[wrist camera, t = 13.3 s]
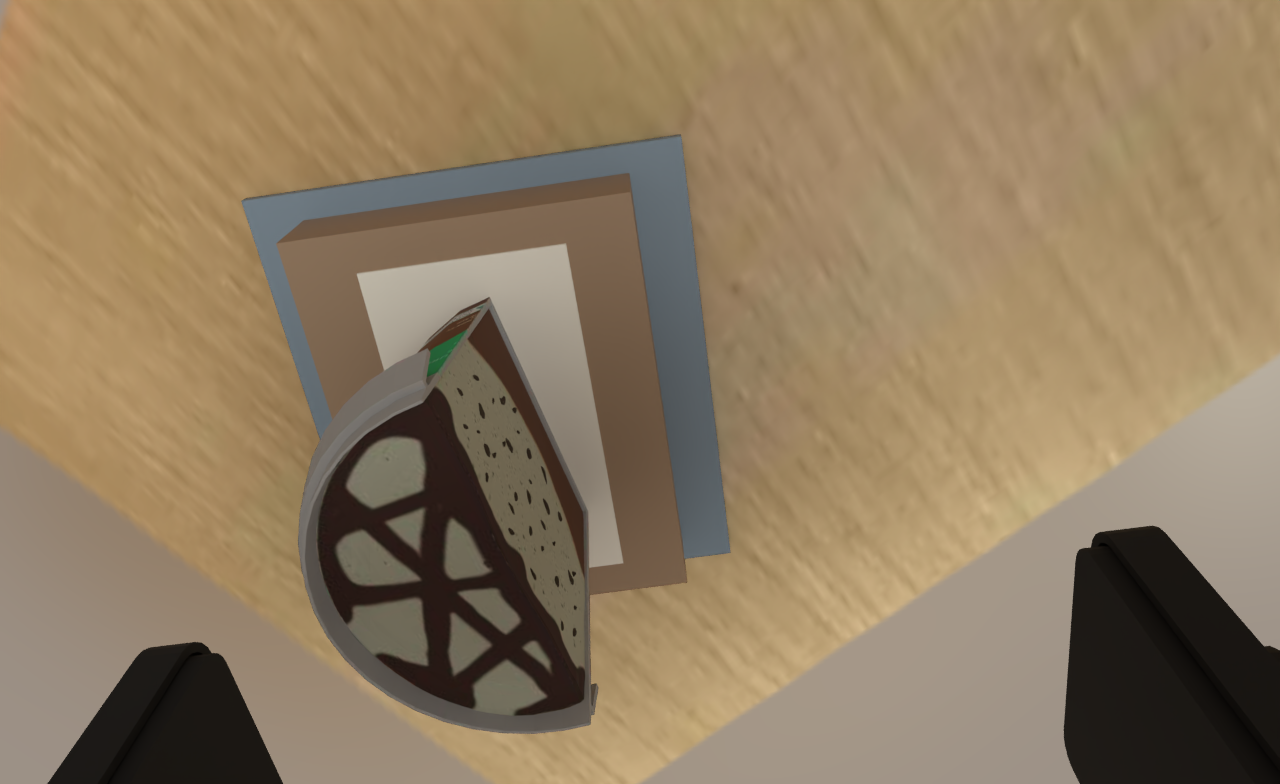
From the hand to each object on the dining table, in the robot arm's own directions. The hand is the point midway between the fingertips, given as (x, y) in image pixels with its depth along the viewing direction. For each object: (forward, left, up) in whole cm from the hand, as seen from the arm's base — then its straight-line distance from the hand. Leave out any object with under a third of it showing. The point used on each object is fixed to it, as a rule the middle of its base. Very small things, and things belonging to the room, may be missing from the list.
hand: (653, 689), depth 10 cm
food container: (+7, +8, -23) cm, 25 cm away
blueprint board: (+6, +8, -26) cm, 28 cm away
